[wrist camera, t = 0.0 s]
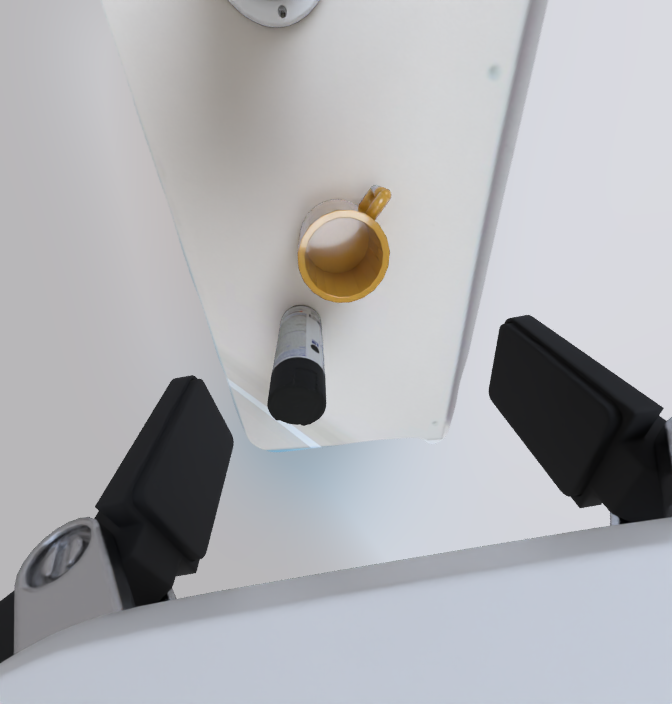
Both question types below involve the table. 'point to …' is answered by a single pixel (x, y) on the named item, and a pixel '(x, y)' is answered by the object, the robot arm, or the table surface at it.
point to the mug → (344, 247)
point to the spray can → (298, 369)
